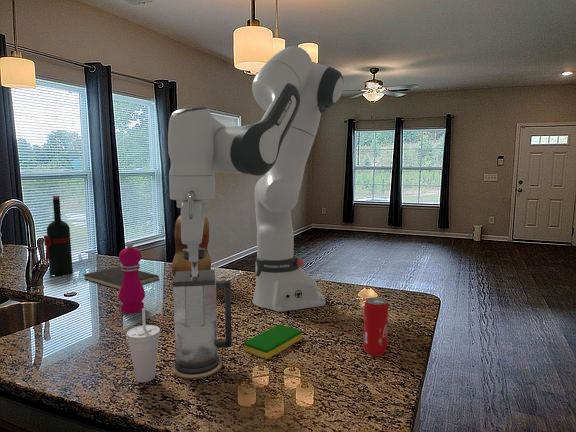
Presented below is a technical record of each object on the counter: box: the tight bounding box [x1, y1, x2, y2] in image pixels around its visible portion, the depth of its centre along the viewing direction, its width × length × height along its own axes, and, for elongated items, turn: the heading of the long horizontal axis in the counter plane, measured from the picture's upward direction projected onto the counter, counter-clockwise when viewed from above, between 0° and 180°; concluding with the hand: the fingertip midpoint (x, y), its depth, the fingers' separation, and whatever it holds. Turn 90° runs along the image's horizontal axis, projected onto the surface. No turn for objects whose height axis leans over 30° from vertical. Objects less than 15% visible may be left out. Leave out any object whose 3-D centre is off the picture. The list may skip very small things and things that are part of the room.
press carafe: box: [171, 269, 233, 380], centre depth 87 cm, size 12×10×20 cm
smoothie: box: [126, 307, 162, 383], centre depth 82 cm, size 6×6×14 cm
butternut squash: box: [171, 214, 212, 277], centre depth 147 cm, size 14×13×25 cm
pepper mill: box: [118, 241, 146, 315], centre depth 120 cm, size 7×7×20 cm
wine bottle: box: [43, 195, 74, 277], centre depth 158 cm, size 8×10×30 cm
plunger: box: [183, 248, 205, 277], centre depth 85 cm, size 6×6×14 cm
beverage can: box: [363, 296, 389, 357], centre depth 94 cm, size 5×5×12 cm
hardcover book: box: [82, 265, 160, 290], centre depth 153 cm, size 16×23×2 cm
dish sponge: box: [243, 324, 303, 360], centre depth 99 cm, size 7×14×2 cm, turn 143°
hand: (194, 258), depth 85 cm, fingers closed on plunger, 4 cm apart
